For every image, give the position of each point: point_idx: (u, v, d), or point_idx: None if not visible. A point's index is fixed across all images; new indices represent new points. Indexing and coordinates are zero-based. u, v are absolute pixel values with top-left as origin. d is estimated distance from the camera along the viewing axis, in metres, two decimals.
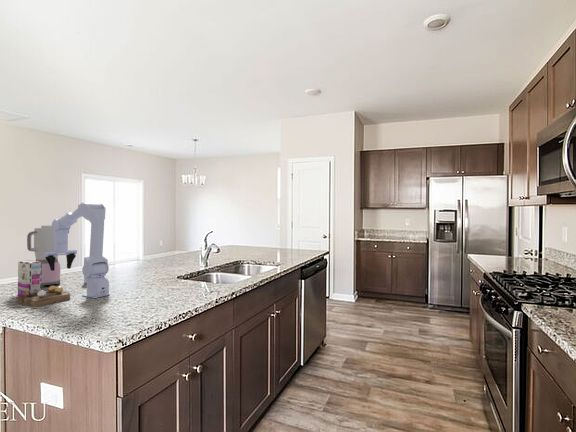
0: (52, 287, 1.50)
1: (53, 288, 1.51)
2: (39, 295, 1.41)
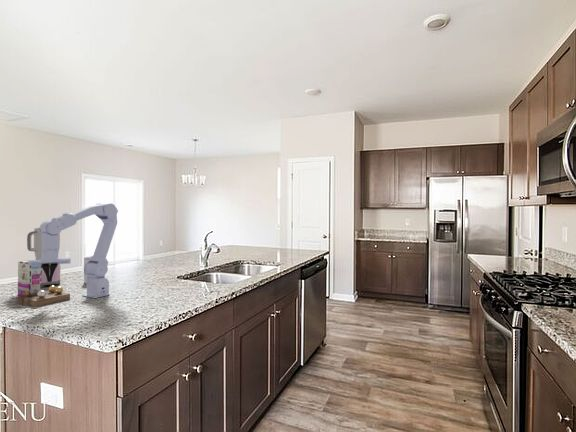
0: (52, 287, 1.50)
1: (53, 288, 1.51)
2: (39, 295, 1.41)
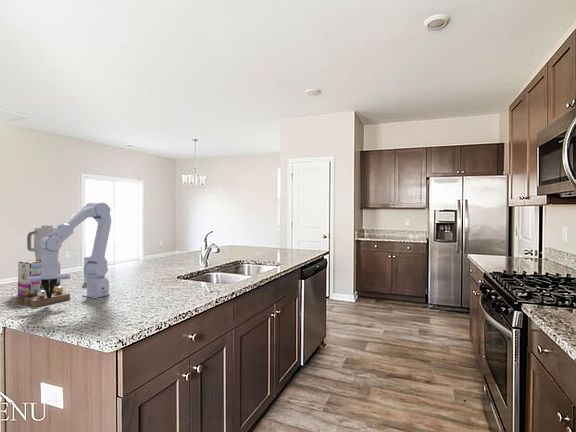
0: None
1: None
2: (39, 295, 1.41)
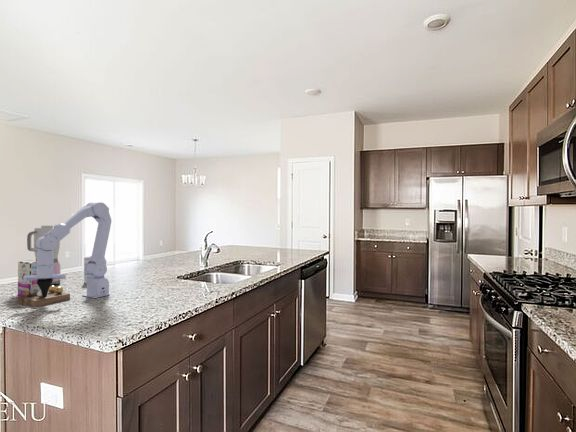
0: (52, 287, 1.50)
1: (53, 288, 1.51)
2: (39, 295, 1.41)
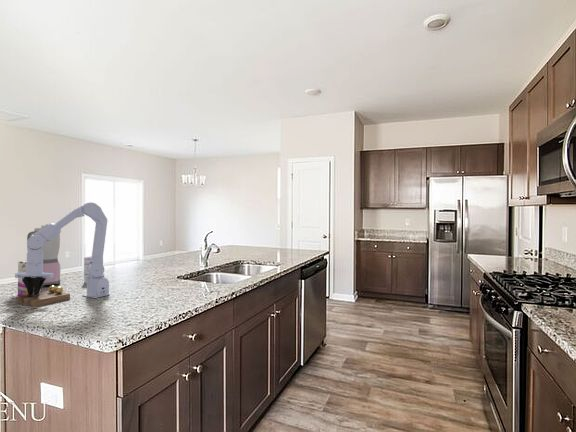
0: (52, 287, 1.50)
1: (53, 288, 1.51)
2: None
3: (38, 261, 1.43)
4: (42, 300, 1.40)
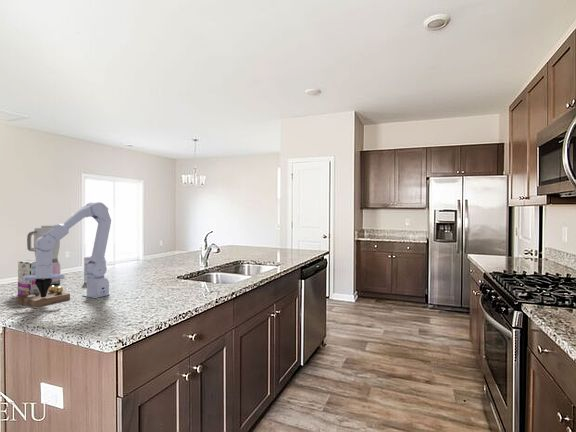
0: (52, 287, 1.50)
1: (53, 288, 1.51)
2: None
3: (49, 263, 1.41)
4: (42, 300, 1.40)
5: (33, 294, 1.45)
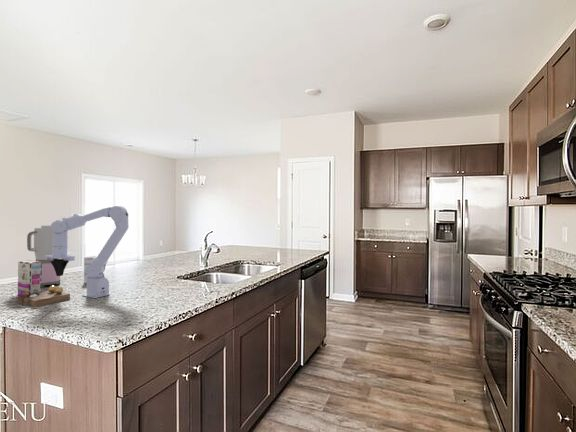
0: (52, 287, 1.50)
1: (53, 288, 1.51)
2: None
3: (61, 244, 1.51)
4: (42, 300, 1.40)
5: None
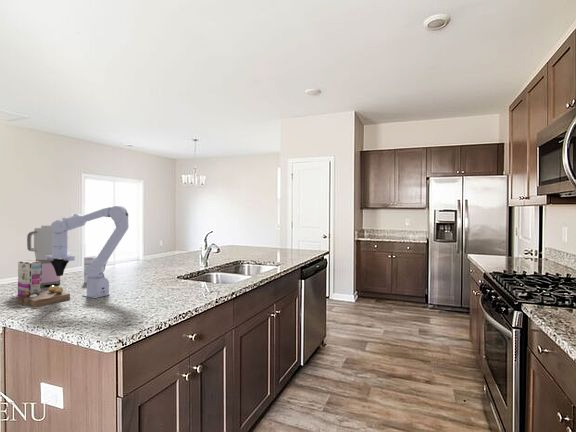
0: (52, 287, 1.50)
1: (53, 288, 1.51)
2: None
3: (61, 244, 1.51)
4: (42, 300, 1.40)
5: None
